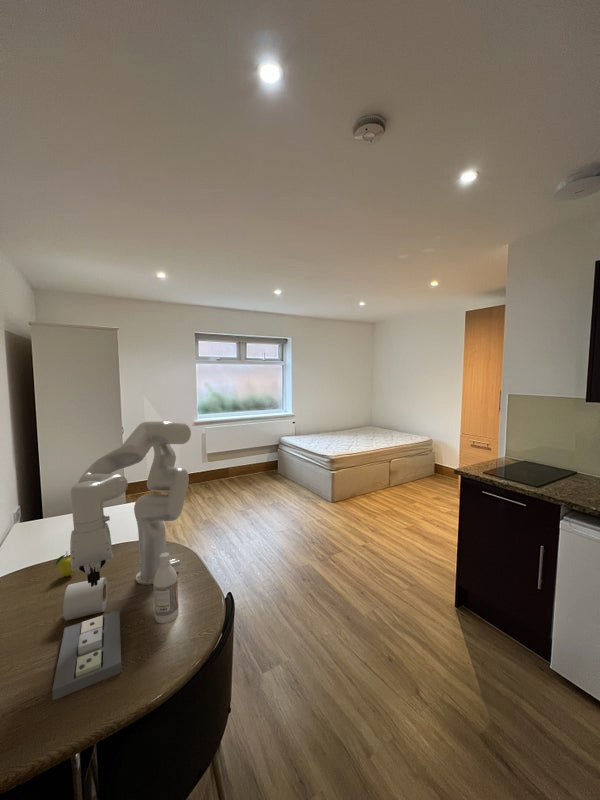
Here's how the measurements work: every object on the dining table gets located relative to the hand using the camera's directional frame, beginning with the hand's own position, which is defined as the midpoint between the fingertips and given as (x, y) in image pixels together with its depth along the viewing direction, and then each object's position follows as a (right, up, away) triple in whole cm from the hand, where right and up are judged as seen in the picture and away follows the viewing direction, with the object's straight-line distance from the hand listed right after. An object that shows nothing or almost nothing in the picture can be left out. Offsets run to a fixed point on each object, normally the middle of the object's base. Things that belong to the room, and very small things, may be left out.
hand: (94, 583), depth 96 cm
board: (+4, -15, -8) cm, 17 cm away
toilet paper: (-8, -15, +9) cm, 19 cm away
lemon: (-29, -14, +30) cm, 44 cm away
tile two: (+4, -13, -8) cm, 16 cm away
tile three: (+8, -14, -14) cm, 22 cm away
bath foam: (+19, -14, +6) cm, 25 cm away
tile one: (0, -14, -1) cm, 14 cm away
